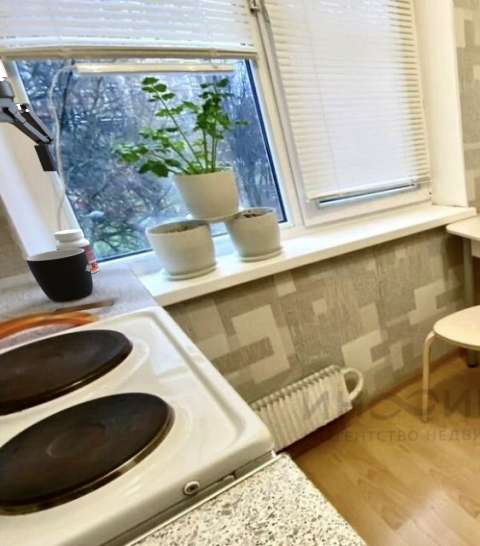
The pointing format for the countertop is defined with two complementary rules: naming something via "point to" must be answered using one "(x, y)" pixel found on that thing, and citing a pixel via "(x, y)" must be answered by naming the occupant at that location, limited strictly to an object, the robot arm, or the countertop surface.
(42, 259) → the mug
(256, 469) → the countertop surface
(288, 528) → the countertop surface
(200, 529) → the countertop surface
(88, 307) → the cork mat
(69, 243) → the pill bottle
